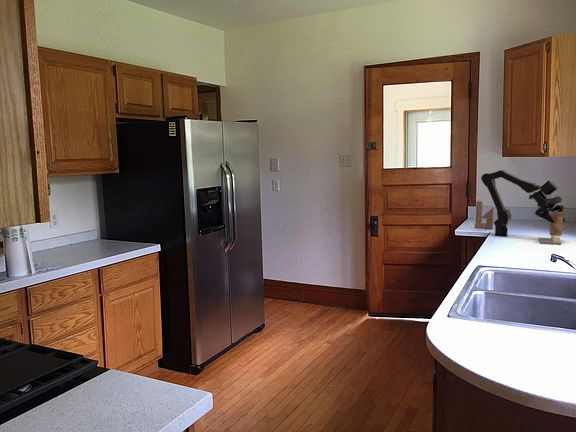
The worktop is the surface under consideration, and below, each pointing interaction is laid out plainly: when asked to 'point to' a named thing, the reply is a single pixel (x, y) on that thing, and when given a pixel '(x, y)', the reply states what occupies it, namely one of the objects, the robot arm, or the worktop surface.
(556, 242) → the stand
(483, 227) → the wooden angular frame
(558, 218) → the post
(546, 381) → the worktop surface
